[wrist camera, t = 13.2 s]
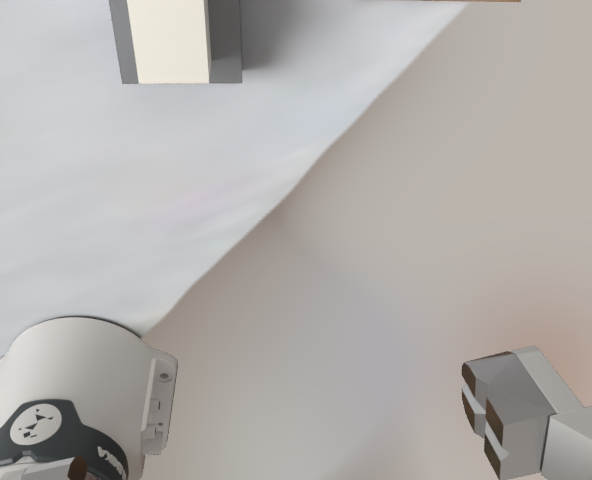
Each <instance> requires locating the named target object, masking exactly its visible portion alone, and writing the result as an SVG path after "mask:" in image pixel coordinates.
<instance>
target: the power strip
mask: <svg viewBox="0 0 592 480" xmlns="http://www.w3.org/2000/svg"><path fill="white" fill-rule="evenodd" d="M109 5H110V11H111V17H112V23H113V30H114V36H115V42H116V48H117V54H118V60H119V66H120V73H121V79H122V84H139V81H138V74H137V67H136V60H135V53H134V46H133V39H132V32H131V25H130V18H129V11H128V4H127V0H109ZM208 14H209V30H210V46H211V70H210V80H209V83H242V58H241V25H240V0H208ZM156 84H186V83H156Z"/></svg>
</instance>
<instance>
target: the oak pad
mask: <svg viewBox="0 0 592 480" xmlns="http://www.w3.org/2000/svg"><path fill="white" fill-rule="evenodd" d="M422 1H490V2H520V1H521V0H422Z"/></svg>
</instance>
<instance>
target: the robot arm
mask: <svg viewBox="0 0 592 480" xmlns="http://www.w3.org/2000/svg"><path fill="white" fill-rule="evenodd" d="M177 368H178V361H177V359H176V358H175V357H173V356H171V355H169V354H167V353H164V352H162V351H159V350H156V349H153V348H151V347H149V346H148V345H147V344H146V343H144V342H143V341H142V340H141V339H139V338H138V337H137V336H135V335H134V334H133V333H131V332H129V331H128V330H126V329H124V328H122V327H119V326H117V325H115V324H112V323H109V322H105V321H101V320H97V319H91V318H80V317H69V318H59V319H53V320H49V321H45V322H42V323H39V324H37V325H34V326H32V327H31V328H29V329H27V330H26V331H24V332H23V333H22V334H20V335H19V336H18V337H17V338H16V339H15V341H14V342H13V344H12V345H11V347H10V349H9V351H8V353H7V354H6V355H5V356H4V358H2V359H0V480H139V479H140V478H141V477H142V473H143V469H144V461H145V457H146V456H149V455H159V454H161V450H163V449H164V448H165V446H166V443H167V439H168V433H169V425H170V417H171V411H172V403H173V397H174V390H175V382H176V375H177ZM165 373H166V374H165ZM462 376H463V378H464V380H465V382H466V384H465V385H464V387H463V388H462V400H463V405H464V409H465V413H466V415H467V418H468V420H469V423H470V425H471V427H472V429H473V430H474V432H475V433H476V434H478V435H479V436H481V437H482V438H484V439H485V443H484V452H485V454H486V456H487V458H488V460H489V462H490V463H491V465H492V467H493V469H494V471H495V473H496V475H497V477H498V479H499V480H507V479H512V478H517V477H522V476H526V475H531V474H535V473H540V472H542V473H541V475H542V476H544V477H545V478H547V479H548V480H592V406H589V407H584V406H583V405H582V404H581V402H580V401H579V400H578V398H577V397H576V396H575V395H574V393H573V392H572V391H571V389H570V388H569V387H568V386H567V384H566V383H565V382H564V380H563V379H562V378H561V376H560V375H559V374H558V373H557V371H556V370H555V369H554V367H553V366H552V365H551V364H550V362H549V361H548V360H547V358H546V357H545V356H544V354H543V353H542V352H541V351H540V349H538V348H537V347H535V346H529V347H525V348H521V349H517V350H513V351H510V352H508V351H506V352H502V353H499V354H495V355H491V356H487V357H483V358H479V359H475V360H471V361H467V362H464V363H463V365H462Z"/></svg>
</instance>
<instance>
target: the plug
mask: <svg viewBox="0 0 592 480" xmlns="http://www.w3.org/2000/svg"><path fill="white" fill-rule="evenodd" d="M127 4H128V11H129V18H130V25H131V32H132V39H133V46H134V53H135V60H136V67H137V74H138V81H139V84H156V83H209V80H210V70H211V46H210V30H209V14H208V0H127Z"/></svg>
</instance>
